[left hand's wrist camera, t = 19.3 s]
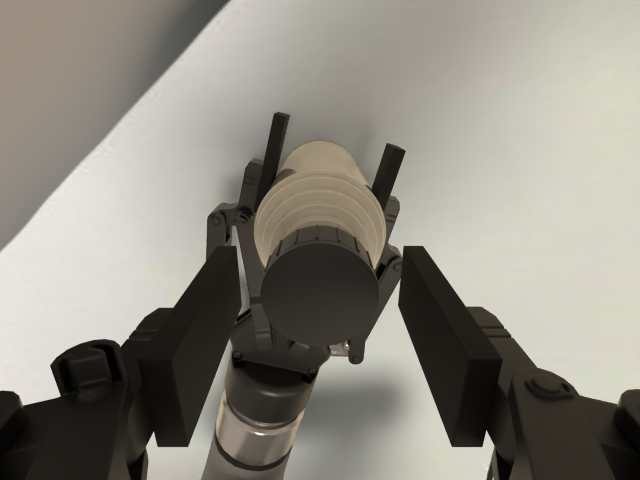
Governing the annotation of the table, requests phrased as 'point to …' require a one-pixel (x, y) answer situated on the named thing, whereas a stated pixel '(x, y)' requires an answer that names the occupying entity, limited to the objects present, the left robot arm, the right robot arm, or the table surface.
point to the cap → (319, 286)
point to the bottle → (319, 200)
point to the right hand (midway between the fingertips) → (339, 131)
